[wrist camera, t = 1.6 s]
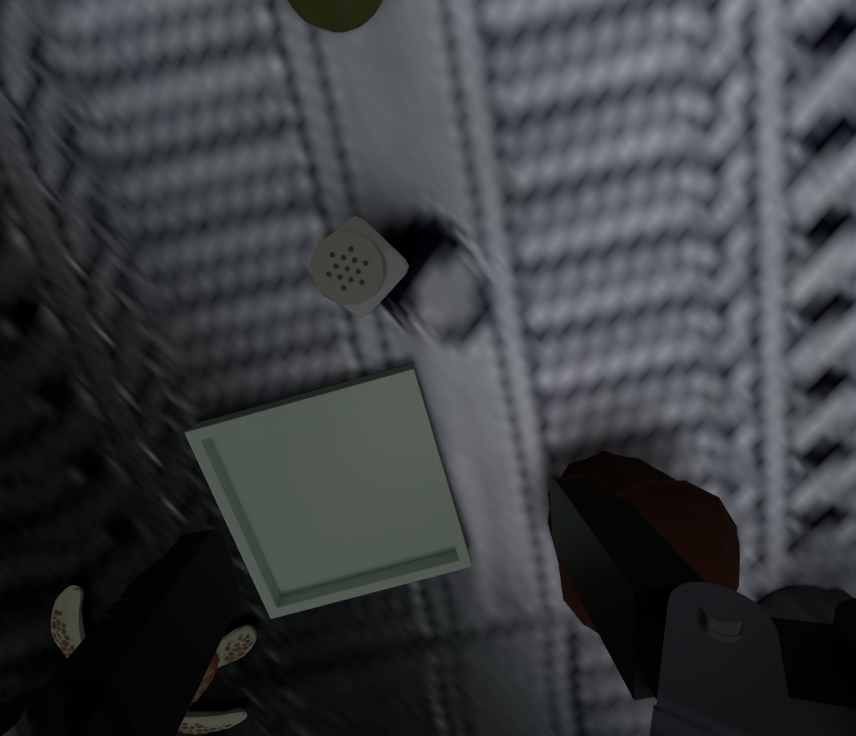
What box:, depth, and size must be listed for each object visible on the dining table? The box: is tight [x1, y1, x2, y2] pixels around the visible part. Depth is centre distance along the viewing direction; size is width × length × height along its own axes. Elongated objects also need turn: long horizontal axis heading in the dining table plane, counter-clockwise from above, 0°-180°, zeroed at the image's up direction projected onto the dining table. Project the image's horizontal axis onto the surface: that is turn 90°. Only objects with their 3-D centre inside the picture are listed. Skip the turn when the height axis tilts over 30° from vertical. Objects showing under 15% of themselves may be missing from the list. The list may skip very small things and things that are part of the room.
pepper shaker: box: [309, 216, 409, 317], centre depth 22 cm, size 4×4×10 cm
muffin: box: [548, 451, 740, 634], centre depth 27 cm, size 12×11×10 cm
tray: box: [185, 363, 472, 619], centre depth 30 cm, size 16×16×2 cm
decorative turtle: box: [51, 585, 257, 734], centre depth 32 cm, size 18×17×5 cm
